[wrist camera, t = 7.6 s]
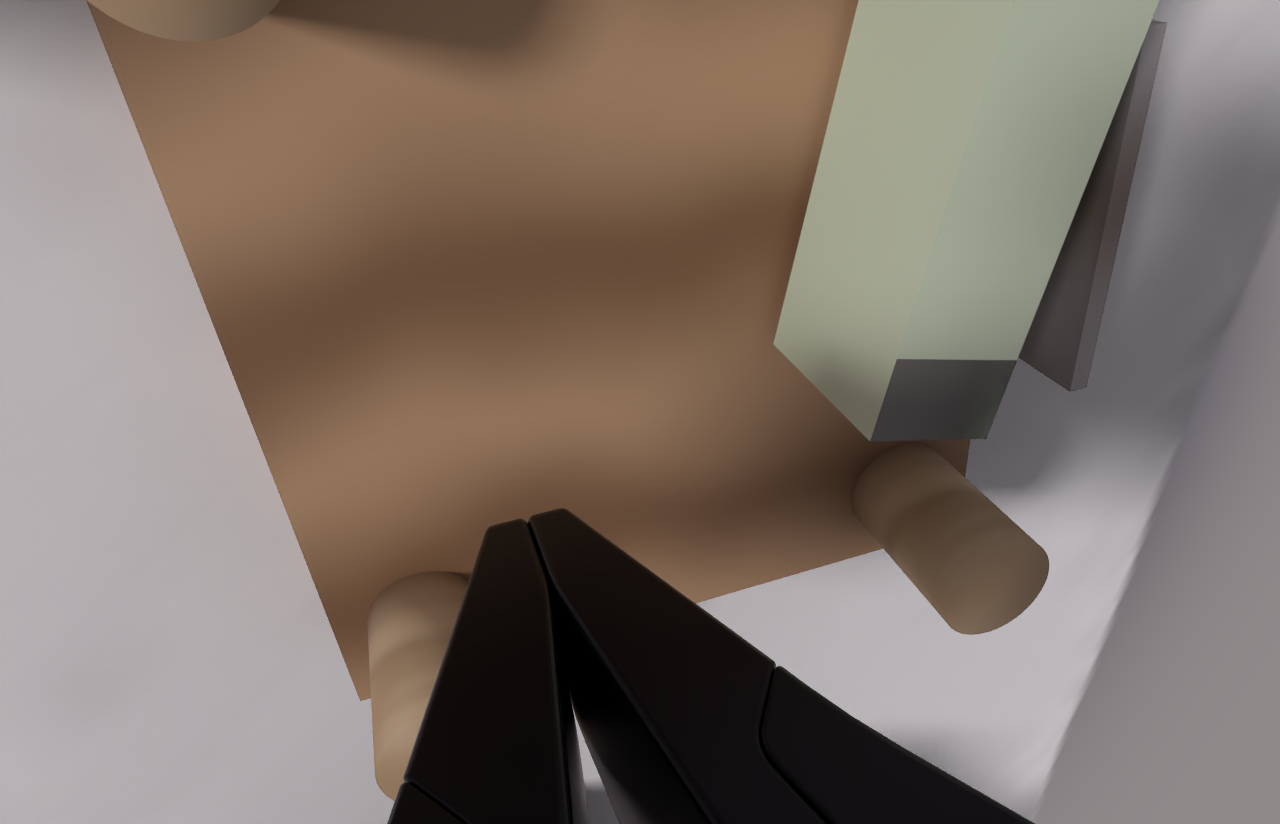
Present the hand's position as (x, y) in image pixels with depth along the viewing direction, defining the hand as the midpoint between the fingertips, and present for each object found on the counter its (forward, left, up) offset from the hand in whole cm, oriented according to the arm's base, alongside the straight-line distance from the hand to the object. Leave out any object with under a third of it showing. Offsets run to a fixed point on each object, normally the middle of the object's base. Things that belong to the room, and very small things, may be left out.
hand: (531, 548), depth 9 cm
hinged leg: (+2, -9, -8) cm, 12 cm away
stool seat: (-1, -4, -10) cm, 11 cm away
